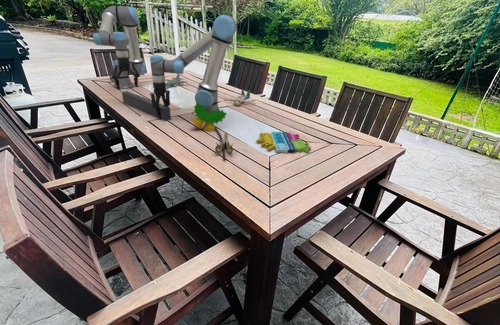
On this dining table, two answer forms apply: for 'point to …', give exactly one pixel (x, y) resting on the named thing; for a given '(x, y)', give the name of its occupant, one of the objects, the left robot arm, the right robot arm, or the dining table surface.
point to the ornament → (207, 117)
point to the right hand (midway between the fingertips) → (162, 117)
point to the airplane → (173, 81)
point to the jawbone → (224, 145)
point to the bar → (145, 105)
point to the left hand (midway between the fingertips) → (127, 88)
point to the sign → (283, 142)
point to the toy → (241, 99)
